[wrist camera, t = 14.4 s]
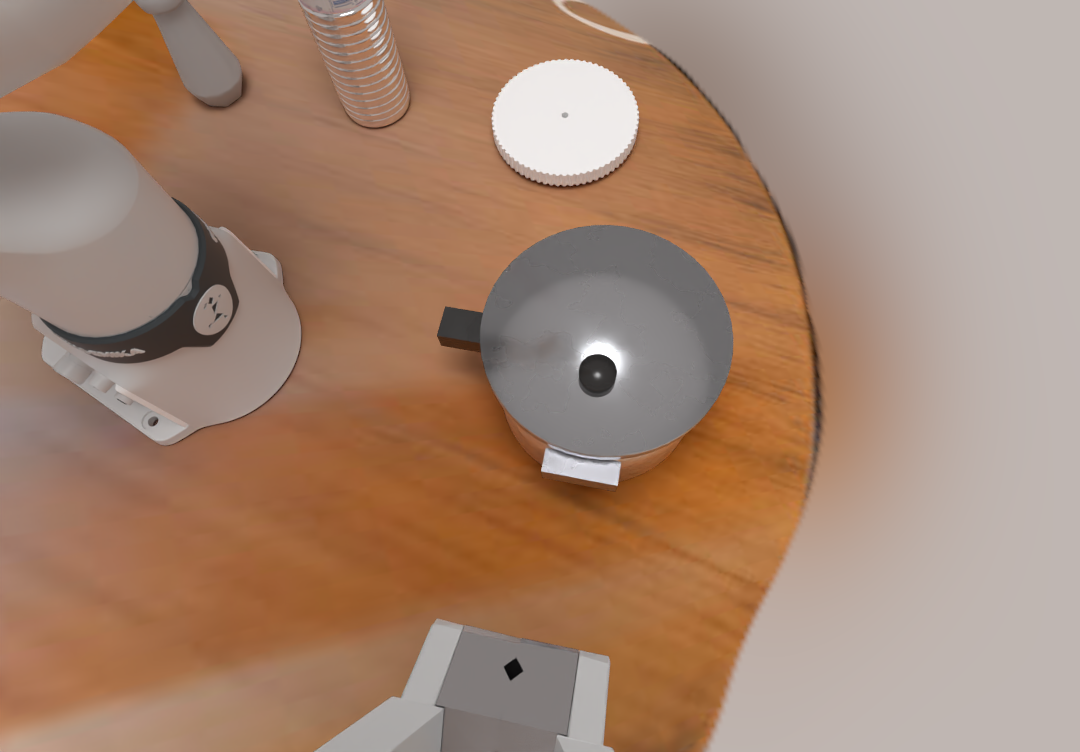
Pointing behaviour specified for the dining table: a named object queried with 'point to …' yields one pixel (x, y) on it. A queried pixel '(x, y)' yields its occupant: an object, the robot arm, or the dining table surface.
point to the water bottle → (360, 58)
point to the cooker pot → (556, 465)
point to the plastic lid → (565, 122)
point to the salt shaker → (197, 52)
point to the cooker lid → (606, 342)
